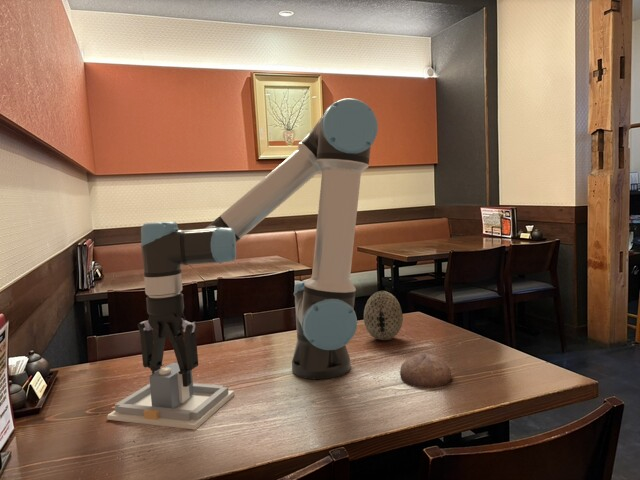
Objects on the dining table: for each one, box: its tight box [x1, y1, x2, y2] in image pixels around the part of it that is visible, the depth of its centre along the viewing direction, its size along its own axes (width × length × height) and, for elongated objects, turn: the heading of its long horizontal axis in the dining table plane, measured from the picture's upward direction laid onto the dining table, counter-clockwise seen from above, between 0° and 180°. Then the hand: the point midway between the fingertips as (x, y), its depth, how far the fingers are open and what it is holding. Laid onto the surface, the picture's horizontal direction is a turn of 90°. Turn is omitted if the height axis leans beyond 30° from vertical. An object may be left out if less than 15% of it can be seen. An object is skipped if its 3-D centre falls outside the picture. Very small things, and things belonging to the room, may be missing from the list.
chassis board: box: [106, 382, 235, 431], centre depth 99 cm, size 21×16×2 cm
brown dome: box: [399, 353, 452, 388], centre depth 107 cm, size 12×12×6 cm
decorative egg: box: [363, 290, 404, 341], centre depth 137 cm, size 12×12×15 cm
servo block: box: [148, 362, 194, 409], centre depth 99 cm, size 5×8×8 cm, turn 163°
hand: (173, 398), depth 99 cm, fingers closed on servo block, 5 cm apart
